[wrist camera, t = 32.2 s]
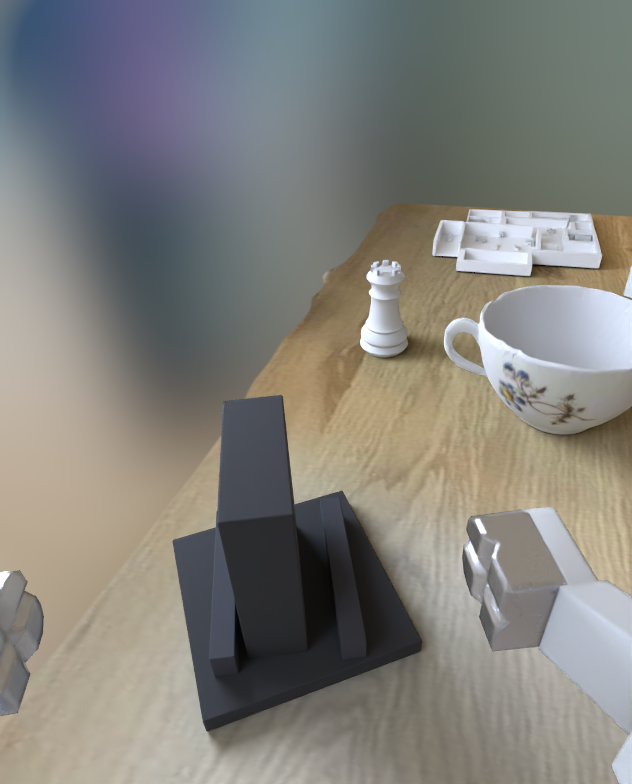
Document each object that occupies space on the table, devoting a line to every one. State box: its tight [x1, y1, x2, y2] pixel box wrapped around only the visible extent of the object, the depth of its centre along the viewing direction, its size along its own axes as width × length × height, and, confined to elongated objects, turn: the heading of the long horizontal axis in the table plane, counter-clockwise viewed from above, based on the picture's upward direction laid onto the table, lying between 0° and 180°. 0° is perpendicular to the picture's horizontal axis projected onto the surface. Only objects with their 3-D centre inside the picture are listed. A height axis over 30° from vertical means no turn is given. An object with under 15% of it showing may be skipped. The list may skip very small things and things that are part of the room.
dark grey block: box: [217, 395, 308, 658], centre depth 28 cm, size 8×3×10 cm, turn 6°
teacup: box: [444, 285, 632, 435], centre depth 41 cm, size 15×12×8 cm
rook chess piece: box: [360, 260, 408, 357], centre depth 50 cm, size 4×4×8 cm
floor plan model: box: [433, 209, 602, 276], centre depth 67 cm, size 19×25×2 cm
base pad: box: [173, 491, 422, 731], centre depth 31 cm, size 11×11×3 cm
